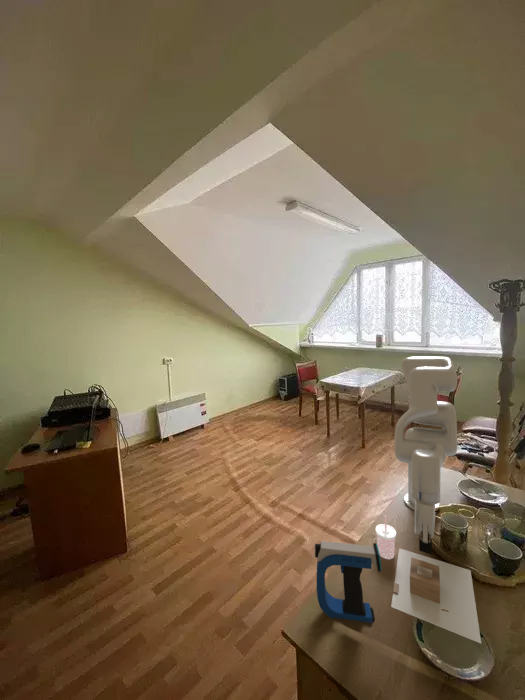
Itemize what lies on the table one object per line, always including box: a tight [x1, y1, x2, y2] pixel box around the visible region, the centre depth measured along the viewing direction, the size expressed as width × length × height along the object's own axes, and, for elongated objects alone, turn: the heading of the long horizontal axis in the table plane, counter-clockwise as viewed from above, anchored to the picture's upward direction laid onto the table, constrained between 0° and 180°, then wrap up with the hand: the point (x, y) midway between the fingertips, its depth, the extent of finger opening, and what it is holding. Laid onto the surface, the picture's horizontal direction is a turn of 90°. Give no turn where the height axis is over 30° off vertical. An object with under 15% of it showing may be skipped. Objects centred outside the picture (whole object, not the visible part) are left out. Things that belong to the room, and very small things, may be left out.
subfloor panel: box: [390, 548, 482, 644], centre depth 81 cm, size 22×24×2 cm
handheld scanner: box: [314, 540, 383, 624], centre depth 75 cm, size 5×16×20 cm, turn 78°
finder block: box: [410, 557, 440, 604], centre depth 81 cm, size 7×7×5 cm
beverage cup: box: [374, 514, 397, 560], centre depth 93 cm, size 6×6×14 cm
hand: (425, 550), depth 88 cm, fingers closed
